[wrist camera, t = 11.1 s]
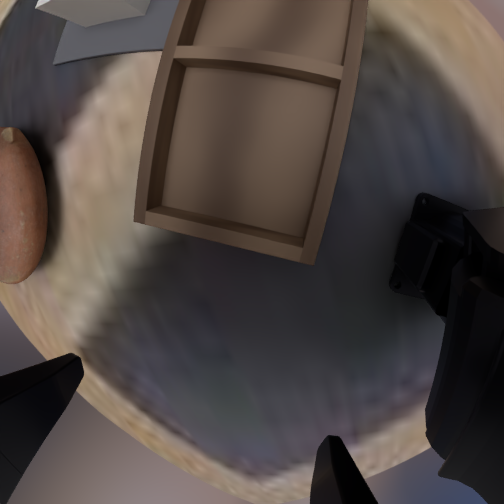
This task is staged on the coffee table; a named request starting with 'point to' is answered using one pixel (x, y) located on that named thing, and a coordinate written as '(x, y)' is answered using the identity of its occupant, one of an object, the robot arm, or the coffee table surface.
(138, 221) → the tray
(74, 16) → the letter cube
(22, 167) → the ceramic jug
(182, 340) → the coffee table surface
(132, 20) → the pad
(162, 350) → the coffee table surface
